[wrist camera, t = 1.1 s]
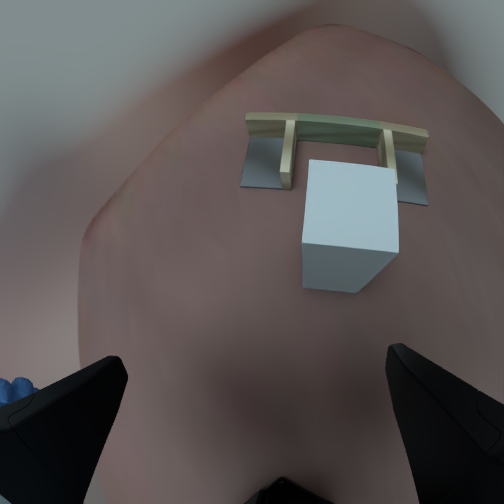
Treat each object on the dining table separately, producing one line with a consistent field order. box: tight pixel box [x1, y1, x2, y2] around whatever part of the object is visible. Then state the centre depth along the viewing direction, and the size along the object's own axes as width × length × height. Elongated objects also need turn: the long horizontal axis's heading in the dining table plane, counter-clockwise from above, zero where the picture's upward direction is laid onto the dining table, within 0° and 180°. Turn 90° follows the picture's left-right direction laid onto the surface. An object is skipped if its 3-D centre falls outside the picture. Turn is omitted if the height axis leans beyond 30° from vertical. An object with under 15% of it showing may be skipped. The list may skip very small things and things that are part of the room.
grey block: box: [302, 160, 399, 293], centre depth 18 cm, size 4×4×11 cm
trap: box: [240, 113, 429, 206], centre depth 24 cm, size 7×18×3 cm, turn 81°
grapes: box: [0, 377, 39, 407], centre depth 17 cm, size 12×7×12 cm, turn 146°
